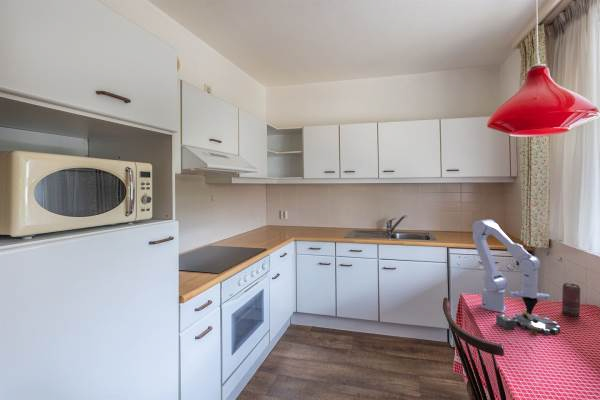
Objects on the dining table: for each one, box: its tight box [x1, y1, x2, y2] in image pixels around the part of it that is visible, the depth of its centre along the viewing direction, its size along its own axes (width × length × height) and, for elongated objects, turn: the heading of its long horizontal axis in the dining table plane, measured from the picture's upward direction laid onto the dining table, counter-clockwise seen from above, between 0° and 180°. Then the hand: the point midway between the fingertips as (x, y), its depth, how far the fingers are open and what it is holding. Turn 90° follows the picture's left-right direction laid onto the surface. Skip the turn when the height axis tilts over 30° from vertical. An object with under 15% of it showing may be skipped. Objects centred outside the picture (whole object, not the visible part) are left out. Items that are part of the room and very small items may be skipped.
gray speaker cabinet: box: [495, 313, 516, 331], centre depth 131 cm, size 6×4×4 cm, turn 0°
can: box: [561, 282, 581, 318], centre depth 141 cm, size 6×6×14 cm
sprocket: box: [512, 309, 561, 335], centre depth 132 cm, size 16×16×4 cm
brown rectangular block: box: [530, 327, 538, 336], centre depth 124 cm, size 2×1×3 cm, turn 50°
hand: (529, 313), depth 136 cm, fingers closed
